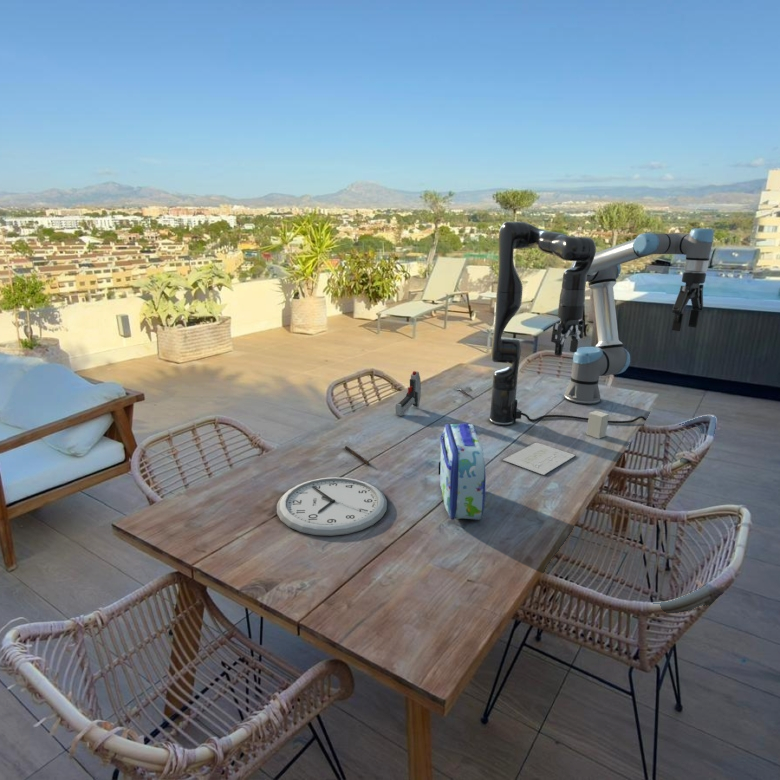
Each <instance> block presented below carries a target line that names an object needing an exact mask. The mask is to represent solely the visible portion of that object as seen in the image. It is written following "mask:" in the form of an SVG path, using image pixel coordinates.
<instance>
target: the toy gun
mask: <svg viewBox="0 0 780 780" xmlns="http://www.w3.org/2000/svg"><path fill="white" fill-rule="evenodd" d="M421 394H422V381H421V376H420V372H419V371H416V370H413V371H412V372H411V374H410V379H409V386H408V387H407V393H406V395H405V396H404V397H403V398H402V399H401V400H400V401H399V402H398V403H395V415H396V416H399V417H402V416H404V415H405V414H406V413H407V412H408V411H409V409H410V408H411V407H412V406H413V407H414V408H417V409H419V407H420V402H421V396H422V395H421Z"/></svg>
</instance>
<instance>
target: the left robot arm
mask: <svg viewBox="0 0 780 780" xmlns="http://www.w3.org/2000/svg"><path fill="white" fill-rule="evenodd" d="M529 248H535V249H538V250H539V251H540V252H541V253H544V254H547V255H550V256H554V257H557V258H558V259H561V260H563V261H567V262H573V261H576V262H575V264H574V266H573V267H572V268H571V267H570V268H567V269H566V270H564V271H563V273H562V274H563V275H562V282H561V289H560V294H559V300H558V309H557V318H559V320H560V321H559V323H557V322H554V323H553V325H552V330H551V338H550V342H551V343H554V344H555V345H554V356H557V357H562V356H563V350H564V349H563V347H564V342H565V341H566V340H567V339H568V337H570V345H569V346H570V347H569V352H570V353H574V352H577V349H578V348H579V347H578V346H579V342H580V340H581V339H584V332H585V323H586V322H585V320H584V319H583V318H584V309H585V301H586V286H587V282H586V279H587V274H588V272H589V270H590V267H591V265H592V262H593V259H594V257H595V253H597V252H596V251H597V245H596V243H595V241H594V239H593V238H591V237H589V236H569V235H567V234H564V233H561V232H556V231H549V230H544V229H541V228H538V227H537V226H534V225H533V224H530V223H528V222H525V221H505V222H503V224H502V225H501V227H500V228H499V232H498V272H497V286H496V294H495V295H496V296H495V316H494V325H493V335H492V341H491V348H490V350H491V351H490V356H491V357H490V358H491V361H492V363H498V364H509V365H508V366H506V367H504V368H500V369H497V370H495V371H494V372H493V374H492V388H491V399H490V410H489V411H490V413H489V414H490V415H489V422H490V423H491V424H494V425H497V426H511V425H513V424H516V423H517V420H521V419H522V416H523V417H525V418H526V419H527V420H528V421H529V422H537V421H539V420H542V419H544V418H567V419H575V420H583V421H588V419H589V417H583V416H575V415H567V414H566V415H565V414H545V415H540V416H539V417H537V418H534V419H533V418H531V417H530V416H529V415H528V414H527V413H524V412H522V410H521V409H519V408H518V399H517V388H518V377H519V366H520V360H521V353H522V343H521V341H520V340H519V339H518V338H517V339H516V338H502V336H503V334H504V332H505V329H506V327H507V325H508V324H509V322H510V321H511V320H512V319H513V318H514V316H515V315H516V313H517V312H518V311H519V309H520V308H521V305H522V301H523V289H524V288H523V283H522V279H521V278H520V276H519V273H518V272H517V268H516V266H515V262H514V251H515V250H523V249H529ZM640 419H643V420H644V421H647V418H646V417H645V416H643V415H639V416H637V417H635V418H633V419H629V420H608V423H607V424H630V423H634V422H636V421H638V420H640Z"/></svg>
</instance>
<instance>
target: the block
mask: <svg viewBox="0 0 780 780" xmlns="http://www.w3.org/2000/svg"><path fill="white" fill-rule="evenodd" d="M609 415H610V414H609V413H605V412H602V411H599V410H594V411H590V412H588V418H589V419H588V420H587V427H586V434H585V435H586V436H590V437H592V438H596V439H598V440H599V439H601V438H605V437H606V436H607V429H608V424H609V423H608V421H609Z"/></svg>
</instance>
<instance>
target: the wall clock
mask: <svg viewBox="0 0 780 780" xmlns="http://www.w3.org/2000/svg"><path fill="white" fill-rule="evenodd" d="M387 509H388V500H387V498H386V496H385V494H384V493H383V492H382V491H381V490H380V489H379V488H377V487H376V486H374V485H372V484H371V483H369V482H365V481H362V480H359V479H355V478H349V477H338V476H337V477H335V476H333V477H332V476H331V477H322V478H317V479H312V480H307V481H305V482H302V483H299V484H297V485H295V486H293V487H292V488H290V489H288V490H287V491H286V492H285V493H284V494H283V495H281V496H280V498H279V499H278V502H277V503H276V515H277V517H278V518H279V520H280V521H281V522H282V523H283V524H285V525H286V526H287V527H288V528H290V529H293V530H295V531H297V532H299V533H303V534H308V535H312V536H327V537H328V536H329V537H331V536H332V537H333V536H342V535H350V534H352V533H356V532H361V531H363V530H366V529H368V528H369V527H372V526H373V525H375V524H376V523H378V522H379V521H380V520H381V519H382V518H383V517H384V516H385V514H386V512H387Z"/></svg>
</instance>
